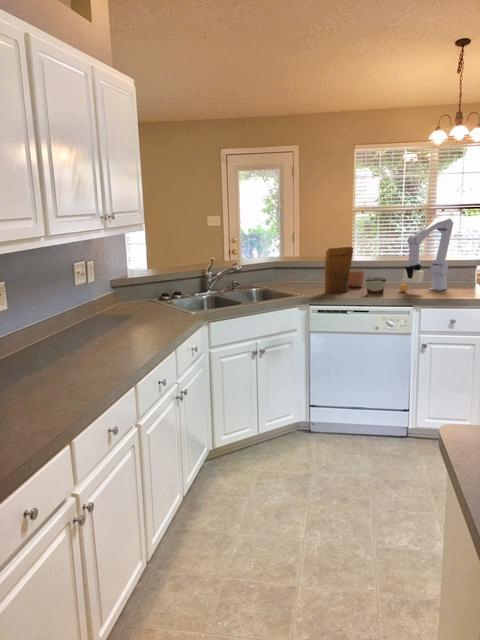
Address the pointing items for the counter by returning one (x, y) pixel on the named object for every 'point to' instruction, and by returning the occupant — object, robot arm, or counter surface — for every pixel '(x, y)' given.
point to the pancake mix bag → (337, 269)
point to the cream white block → (414, 276)
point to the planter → (356, 278)
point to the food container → (375, 285)
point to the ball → (403, 287)
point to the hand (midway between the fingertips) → (412, 277)
